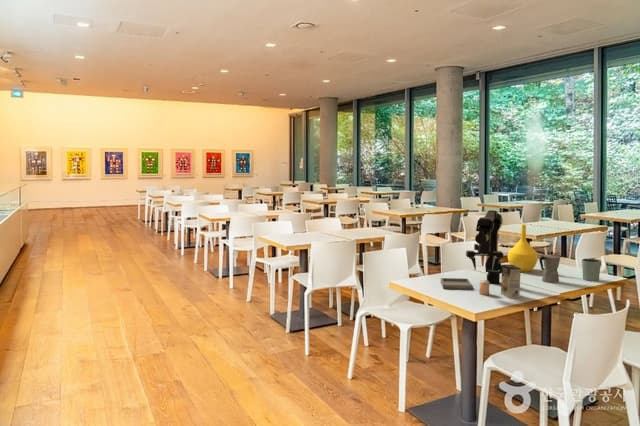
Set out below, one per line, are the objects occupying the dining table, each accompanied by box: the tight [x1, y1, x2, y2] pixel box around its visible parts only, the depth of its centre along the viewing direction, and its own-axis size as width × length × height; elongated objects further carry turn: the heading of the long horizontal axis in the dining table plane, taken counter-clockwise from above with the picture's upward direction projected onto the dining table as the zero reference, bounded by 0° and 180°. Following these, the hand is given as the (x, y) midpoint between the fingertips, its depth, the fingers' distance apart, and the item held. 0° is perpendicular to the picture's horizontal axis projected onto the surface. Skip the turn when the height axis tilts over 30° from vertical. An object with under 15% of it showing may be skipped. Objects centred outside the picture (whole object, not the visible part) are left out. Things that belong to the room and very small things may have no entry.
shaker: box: [478, 279, 490, 296], centre depth 268 cm, size 5×5×7 cm
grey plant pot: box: [581, 258, 602, 282], centre depth 296 cm, size 10×10×12 cm
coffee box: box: [500, 263, 522, 299], centre depth 264 cm, size 9×6×16 cm
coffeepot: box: [538, 250, 562, 284], centre depth 293 cm, size 15×9×18 cm, turn 110°
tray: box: [440, 277, 473, 291], centre depth 286 cm, size 16×16×2 cm
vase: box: [507, 224, 539, 273], centre depth 322 cm, size 18×18×30 cm
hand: (483, 269), depth 267 cm, fingers open, 9 cm apart
